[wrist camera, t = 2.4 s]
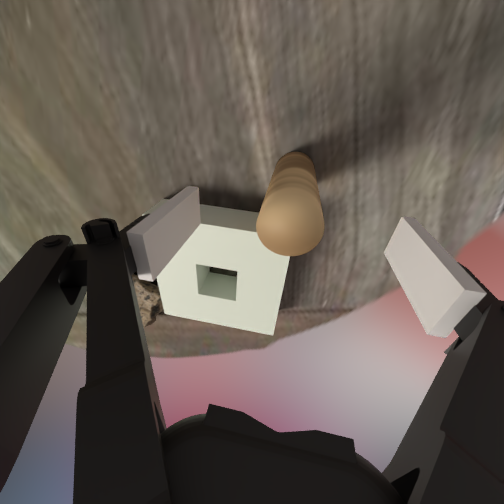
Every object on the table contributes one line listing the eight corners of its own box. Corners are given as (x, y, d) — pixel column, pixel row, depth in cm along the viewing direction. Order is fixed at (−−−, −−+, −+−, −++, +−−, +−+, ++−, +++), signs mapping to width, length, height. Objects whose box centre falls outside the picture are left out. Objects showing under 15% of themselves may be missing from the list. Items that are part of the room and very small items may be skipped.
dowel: (277, 149, 22) (259, 191, 13) (318, 154, 22) (332, 201, 12) (272, 188, 25) (253, 250, 15) (309, 194, 24) (315, 260, 14)
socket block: (163, 198, 28) (142, 214, 24) (294, 218, 26) (293, 238, 22) (178, 292, 37) (164, 313, 33) (275, 310, 35) (273, 335, 32)
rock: (114, 249, 34) (93, 266, 31) (178, 287, 37) (165, 308, 33) (100, 285, 40) (81, 304, 37) (157, 317, 42) (144, 337, 39)
